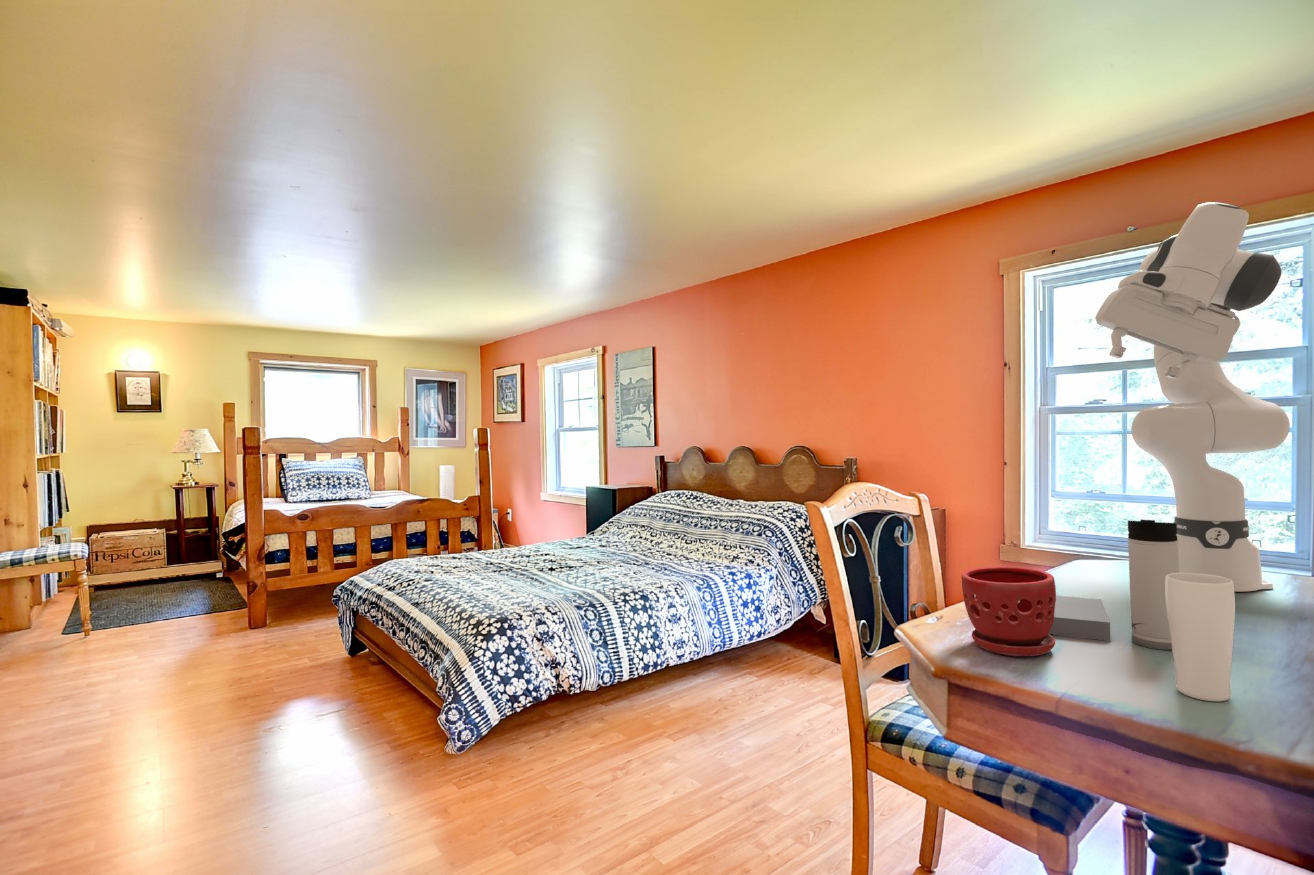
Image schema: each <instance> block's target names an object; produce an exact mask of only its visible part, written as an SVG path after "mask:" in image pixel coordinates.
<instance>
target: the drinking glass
mask: <svg viewBox="0 0 1314 875" xmlns="http://www.w3.org/2000/svg"><path fill="white" fill-rule="evenodd" d="M1165 600H1166V611H1167V618H1168V625H1169V632H1170V638H1171V645H1172V650H1171V651H1172V657H1173V666H1174V676H1175V678H1174V679H1175V686H1176V689H1177V690H1178V691H1179V692H1180V693H1181V694H1183V695H1184V696H1187V697H1189V698H1193V699H1196V700H1201V701H1206V702H1215V703H1216V702H1217V703H1218V702H1224V701H1227V700H1229V699H1230V698H1231V696H1232V688H1231V684H1232V683H1231V678H1232V665H1233V664H1232V663H1233V662H1232V661H1233V648H1234V635H1235V622H1236V621H1235V620H1236V601H1235V600H1236V599H1235V591H1234V587H1233V581H1232V580H1230V579H1228V578H1224V577H1220V576H1215V575H1208V574H1198V573H1171V574H1167V575H1166V576H1165Z"/></svg>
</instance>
